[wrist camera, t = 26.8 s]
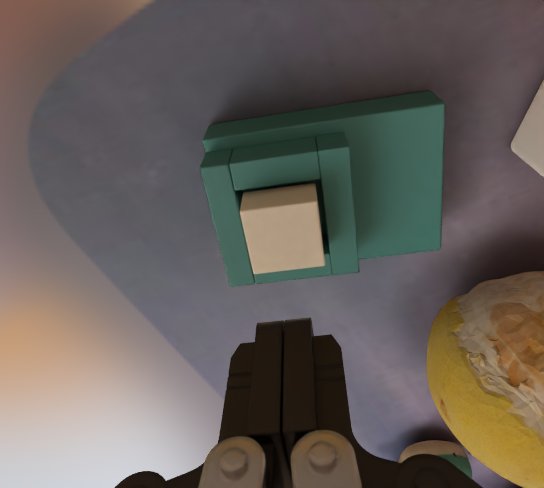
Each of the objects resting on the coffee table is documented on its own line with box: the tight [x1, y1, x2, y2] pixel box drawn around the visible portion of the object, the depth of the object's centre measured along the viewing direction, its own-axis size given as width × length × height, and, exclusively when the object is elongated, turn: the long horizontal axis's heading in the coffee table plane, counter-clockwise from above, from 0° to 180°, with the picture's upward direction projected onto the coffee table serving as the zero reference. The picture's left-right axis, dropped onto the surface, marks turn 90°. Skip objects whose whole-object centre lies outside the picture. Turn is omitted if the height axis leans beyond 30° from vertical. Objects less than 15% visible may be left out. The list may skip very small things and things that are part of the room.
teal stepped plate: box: [200, 91, 445, 287], centre depth 21 cm, size 7×10×4 cm
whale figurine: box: [398, 440, 472, 479], centre depth 32 cm, size 6×7×4 cm
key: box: [240, 183, 325, 274], centre depth 19 cm, size 3×3×2 cm
